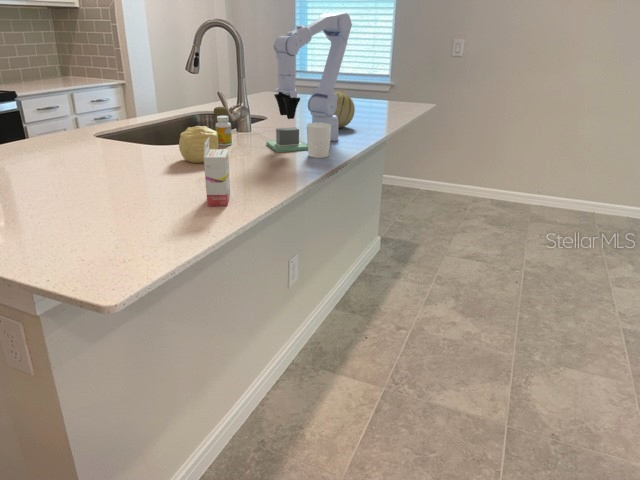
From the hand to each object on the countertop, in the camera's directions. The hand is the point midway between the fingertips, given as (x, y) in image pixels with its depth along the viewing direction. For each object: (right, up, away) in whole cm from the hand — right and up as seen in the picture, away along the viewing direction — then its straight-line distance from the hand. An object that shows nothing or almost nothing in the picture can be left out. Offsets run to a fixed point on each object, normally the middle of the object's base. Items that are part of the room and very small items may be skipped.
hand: (287, 116), depth 169 cm
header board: (0, -10, +4) cm, 10 cm away
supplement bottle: (-23, -8, +6) cm, 25 cm away
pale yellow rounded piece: (-26, -18, -15) cm, 35 cm away
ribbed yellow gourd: (+18, +5, +39) cm, 43 cm away
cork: (-26, -3, +18) cm, 32 cm away
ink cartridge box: (-13, -33, -49) cm, 61 cm away
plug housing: (0, -8, +4) cm, 9 cm away
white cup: (+11, -15, -6) cm, 19 cm away
